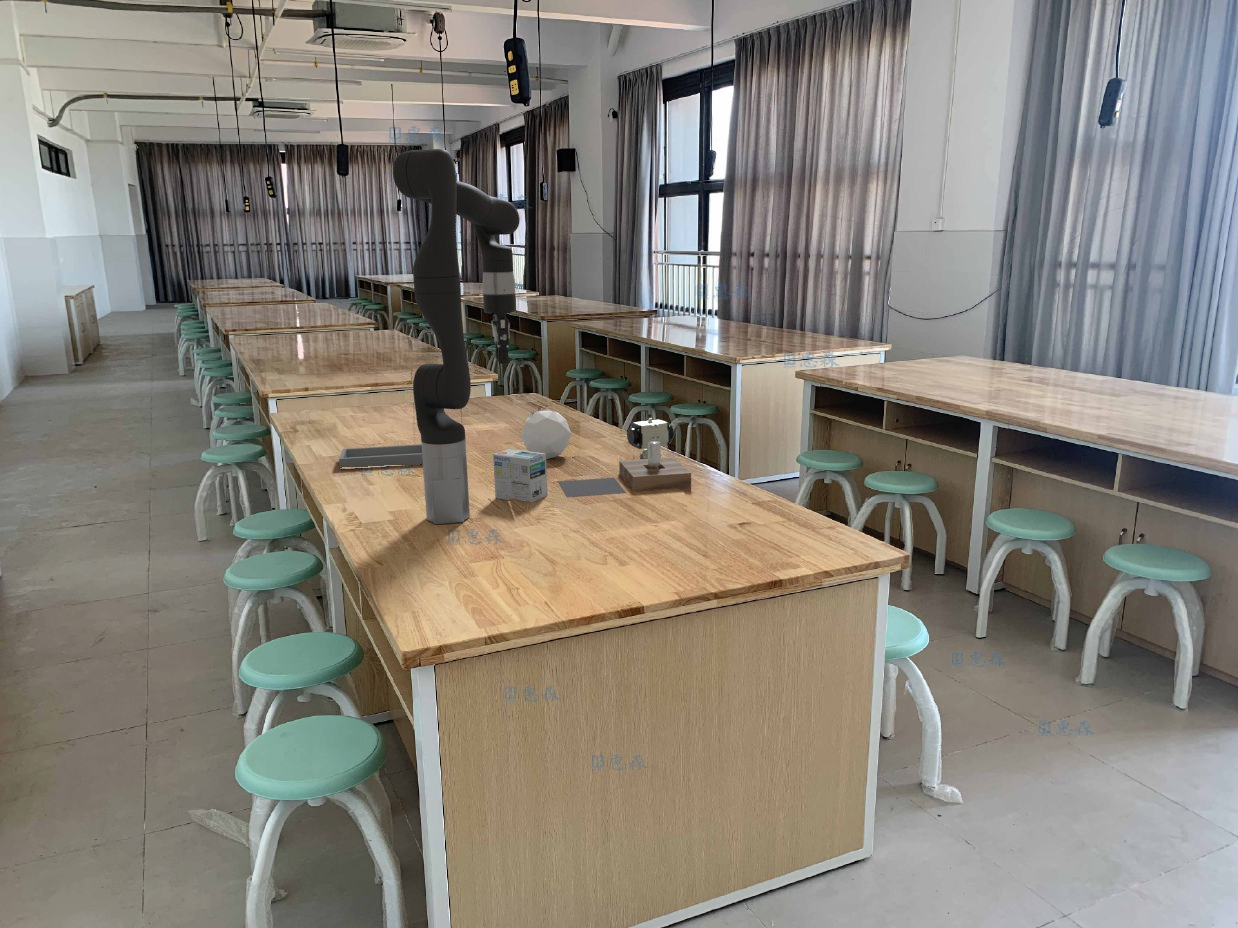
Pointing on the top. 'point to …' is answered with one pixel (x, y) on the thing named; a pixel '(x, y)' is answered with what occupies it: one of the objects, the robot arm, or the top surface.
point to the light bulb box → (520, 475)
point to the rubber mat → (591, 487)
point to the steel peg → (653, 455)
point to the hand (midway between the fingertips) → (502, 361)
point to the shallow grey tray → (381, 456)
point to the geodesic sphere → (546, 433)
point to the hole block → (655, 475)
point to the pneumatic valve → (649, 434)
